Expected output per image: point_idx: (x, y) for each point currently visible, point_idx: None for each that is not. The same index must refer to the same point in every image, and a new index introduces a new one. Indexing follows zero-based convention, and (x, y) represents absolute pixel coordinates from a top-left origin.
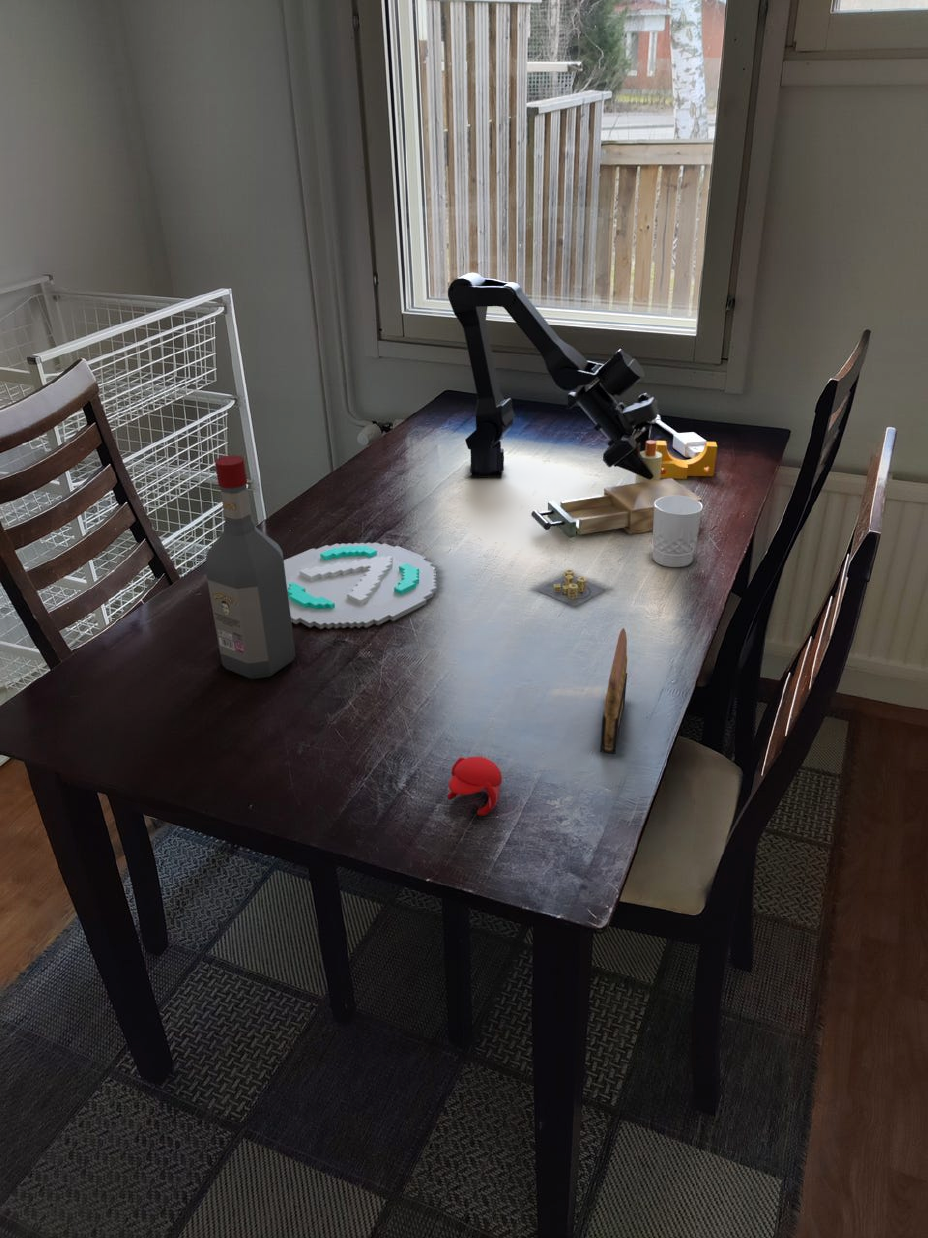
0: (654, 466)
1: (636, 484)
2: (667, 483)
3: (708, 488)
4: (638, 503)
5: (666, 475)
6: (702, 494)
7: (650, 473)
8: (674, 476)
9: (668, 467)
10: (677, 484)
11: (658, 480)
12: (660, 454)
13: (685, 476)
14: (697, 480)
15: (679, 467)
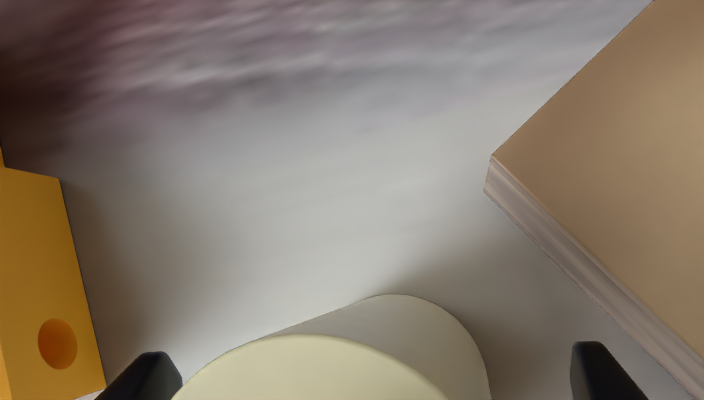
0: (467, 382)
1: None
2: (682, 146)
3: (168, 10)
4: None
5: (75, 311)
6: (278, 13)
7: (638, 390)
8: (68, 256)
9: (25, 308)
10: (660, 39)
11: (630, 266)
12: (254, 368)
13: (49, 186)
14: (64, 109)
15: (5, 226)
